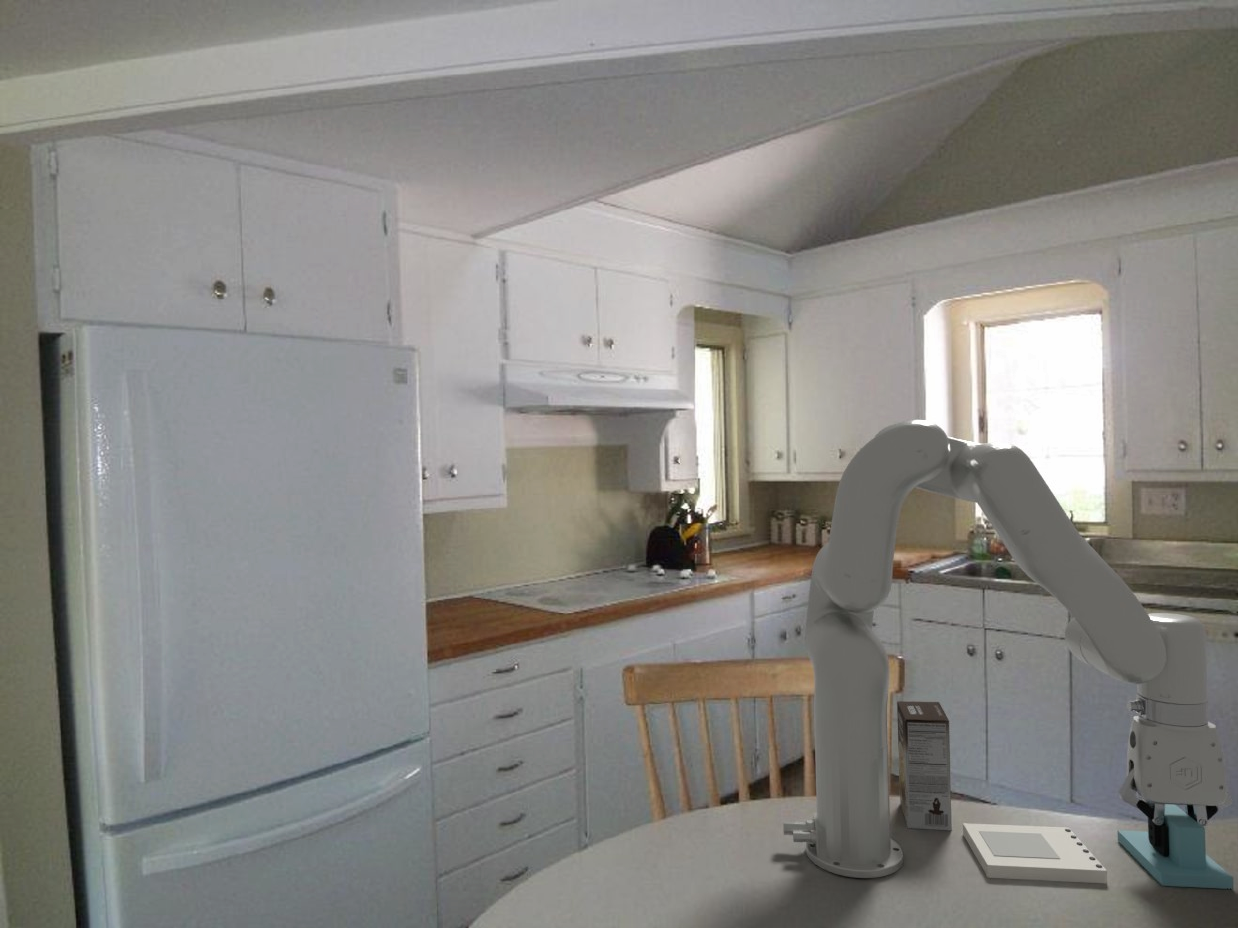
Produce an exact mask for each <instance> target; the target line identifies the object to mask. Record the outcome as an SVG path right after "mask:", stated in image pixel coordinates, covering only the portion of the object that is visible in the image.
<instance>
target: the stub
mask: <svg viewBox="0 0 1238 928" xmlns="http://www.w3.org/2000/svg"><path fill="white" fill-rule="evenodd" d="M1164 824H1165V825H1167V826H1168V830H1169V855H1168V857H1166V856H1162V855H1161V854H1160V853H1159V852H1158V851H1157V850H1156V849H1155V848H1154V847H1153V846H1152V845H1151V844H1150V842H1149V830H1148V829H1147V831H1146V830H1145V831H1143V830H1122V829H1121V830H1119V829H1118V830H1117V841H1118V842H1119V843H1120V844H1121V845H1122V846H1123V848H1124V849H1125V850H1127V852H1128V853H1129V854H1130V855H1131V856H1132V857H1133V858H1134V859H1135V860H1136V861H1137V862H1138V863H1139V864H1140V865H1141V866H1142V867H1144V869H1145V870H1146V871H1147V872H1148V873H1149V874H1150V875H1151V876H1152V877H1153V878H1154V879H1155V880H1156V881H1157V882H1158V883H1159V884H1160V885H1161V886H1163V887H1165V886H1166V887H1167V886H1168V887H1184V888H1186V887H1187V888H1205V889H1223V890H1224V889H1225V890H1234V888H1235V886H1234V877H1233V876H1232V875H1231V874H1230V873H1229V872H1228V871H1226V870H1225V869H1224V868H1223V867H1222V866H1220V864H1218V863H1217V862H1216V860H1215V861H1214V859H1212V858H1211V857H1210V856H1209V855H1208V854H1206V853H1207V852H1206V851H1207V850H1206V827H1203V826H1201V825H1200V824H1199V823H1198V822H1196V821H1195V820H1194V819H1193V818H1191V817H1190V816H1189V815H1188V814H1186V811H1184V810H1183V809H1182V808H1180V807H1179V806H1177V805H1172V804H1165V814H1164ZM1227 888H1228V889H1227ZM1230 888H1231V889H1230ZM1232 888H1233V889H1232Z"/></svg>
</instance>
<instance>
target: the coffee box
mask: <svg viewBox="0 0 1238 928" xmlns="http://www.w3.org/2000/svg"><path fill="white" fill-rule="evenodd" d="M896 705H897V706H896V707H897V708H896V709H897V714H896V715H897V743H898V746H897V747H898V777H899V780H898V781H899V802H900V806H901V810H902V812H903V816H904V820H905V823H906V826H907V829H917V830H933V831H934V830H935V831H952V830H953V829H952V828H953V827H952V795H951V794H952V790H951V788H952V787H951V748H950V747H951V745H950V744H951V743H950V739H951V738H950V736H951V735H950V720H949V718H948V716H947V715H946V712H945V710H944V708H943V707H942V705H941V703H940V702H939V701H907V700H905V701H902V700H901V701H897V702H896Z"/></svg>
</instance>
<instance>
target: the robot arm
mask: <svg viewBox="0 0 1238 928" xmlns="http://www.w3.org/2000/svg"><path fill="white" fill-rule="evenodd" d="M1037 468H1038V467H1036V465H1035V464H1034V462H1033V461H1032V460H1031V458H1030V457H1029V456H1028V455H1027V454H1026V452H1024V451H1023V450H1022V449H1021V448H1019V447H1018V446H1016V445H1013V444H1010V443H1005V442H1004V443H1003V442H988V443H986V442H985V443H979V442H973V441H967V440H963V439H959V438H954V437H951V436H947V434H946V432H945V430H943V429H942V427H940V425H938V424H936V423H933V422H932V421H929V420H925V419H924V420H923V419H910V420H909V419H908V420H904V421H901V422H897V423H893V424H890V425H888V426H886V427H884V428H882V429H881V430H879V431H878V432H877V434H876V435H875V436H874V437H873V438H871V440H869V441H868V442H867V443H865V444H864V445H863V446H862V448H860V449H859V451H858V452H857V453H856V454H855V455H854V456H853V458H852V459H851V460H850V461H849V463H848V464H847V466H846V468H845V469H844V472H843V473H842V475H841V477H840V479H839V480H840V481H839V483H838V487H837V489H836V490H837V491H836V494H835V500H834V506H833V512H832V518H831V523H830V524H831V525H830V533H829V539H828V542H827V543H825V544H824V545H823V546H822V547H821V548H820V549H819V550H818V552H817V554H816V556H815V558H814V561H813V566H812V571H811V574H810V575H811V576H810V583H809V591H808V592H809V594H808V601H807V602H808V603H807V609H806V610H807V611H806V621H805V629H804V631H805V633H804V645H805V650H806V654H807V657H808V658H809V660H810V663H811V665H812V667H813V674H814V697H813V698H814V699H813V724H814V725H813V731H814V732H813V733H814V748H815V749H814V754H815V756H814V757H815V758H814V759H815V789H816V791H815V793H816V811H814V812H812V818H805V821H797V820H793V819H791V820H789V819H783V820H782V826H783V828H782V831H783V836H792V841H793V842H794V843H805V851H806V852H805V853H806V855H807V858H809V860H810V861H811V862H812V863H814V864H815V865H816V866H817V867H820V869H823V870H824V871H827V872H829V873H833V874H835V875H839V876H843V877H848V878H855V879H875V878H880V877H881V878H883V877H885V876H889V875H892V874H894V873H896V872H897V871H898V870H900V869H901V868H902V866H903V864H904V851H903V848H902V847H901V845H899V843H897V842H896V841H895V840H893V839H892V838H891V816H890V815H891V813H890V812H891V811H890V805H891V804H890V777H889V776H890V775H889V774H890V773H889V769H890V768H889V743H888V738H889V737H888V702H889V688H890V677H891V676H890V675H891V674H890V670H891V669H890V661H889V657H888V653H887V650H886V647H885V646H884V644H883V642H882V641H881V639H880V637H879V636H878V635H877V634H876V633H875V631H874V630H873V621H874V614H875V613H874V612H875V611H876V610H877V609H879V608H880V607H881V606H882V605H883V604H884V603H885V602H886V600H887V599H888V598H889V597H888V596H889V595H890V593H891V592H890V591H891V589H892V582H893V571H894V570H893V569H894V559H895V558H894V557H895V549H896V548H895V547H896V538H897V532H898V531H897V530H898V526H899V519H900V514H901V510H902V507H903V505H904V502H905V500H906V498H907V497H908V495H909V494H910V493H911V492H912V491H913V490H914V488H915V489H918V490H922V491H925V492H929V493H933V494H937V495H941V496H945V497H948V498H949V497H950V498H952V499H957V500H962V501H966V502H971V503H977V504H978V505H977V506H979V508H980V509H981V511H982V513H983V515H984V516H985V517H986V519H987V520H988V522H989V524H990V525H991V526H992V528H993V530H994V531H995V532H996V534H997V535H998V537H999V539H1000V540H1001V542H1002V543H1003V545H1004V547H1005V548H1006V549H1007V551H1008V553H1009V554H1010V556H1011V557H1012V559H1013V561H1014V562H1015V564H1016V565H1017V566H1018V567H1019V568H1020V569H1021V570H1022V572H1024V573H1025V575H1026V576H1028V578H1030V579H1031V580H1032V581H1033V582H1035V583H1036V584H1037V585H1039V586H1040V587H1041V588H1043V589H1044V590H1045V591H1047V592H1048V593H1049V594H1051V595H1052V596H1053V597H1054V598H1055V599H1056V600H1057V601H1058V602H1059V603H1060V604H1061V605H1062V606H1063V607H1064V609H1066V610H1067V612H1069V613H1070V615H1071V616H1072V618H1071V620H1070V621H1069V622H1068V623H1067V625H1066V626H1065V630H1064V640H1065V644H1066V646H1067V649H1068V650H1069V651H1070V653H1072V655H1073V656H1074V657H1076V658H1077V659H1078V660H1079V661H1081V662H1082V663H1084V664H1086V665H1088V666H1089V667H1091V668H1094V669H1095V670H1097V671H1100V672H1102V673H1104V674H1106V675H1107V676H1110V677H1111V678H1113V679H1115V680H1117V681H1119V682H1122V683H1125V684H1131V685H1137V687H1136V688H1137V690H1136V691H1137V693H1135V699H1133V700H1127V701H1126V708H1127V711H1128V712H1134V713H1136V715H1134V716H1133V718H1132V721H1131V724H1130V725H1131V726H1130V730H1129V736H1128V741H1127V742H1128V743H1127V752H1126V753H1127V754H1126V778H1125V780H1124V782H1123V783H1122V785H1121V787H1120V789H1119V790H1118V792H1117V796H1118V797H1119V799H1121V800H1122V801H1123V802H1125V803H1127V804H1128V805H1130V806H1131V807H1134V808H1137V809H1138V810H1139V811H1141V813H1143V814H1144V815H1145V817H1147V831H1148V830H1149V842H1150V844H1151V845H1152V846H1153V847H1154V848H1155V849H1156V850H1157V851H1158V852H1159V853H1160V854H1161V855H1162V856H1166V857H1168V855H1169V830H1168V826H1167V825H1165V824H1164V814H1165V804H1172V805H1176V806H1177V805H1179V806H1184V807H1185V813H1186V814H1188V815H1189V816H1190V817H1191V818H1193V819H1194V820H1195V821H1196V822H1198V823H1199V824H1200V825H1201V826H1203V827H1204V828H1206V827H1207V826H1208V823H1209V820H1210V819H1211V818H1213V817H1214V816H1215V815H1216V814H1217V813H1218V811H1221V810H1224V809H1227V808H1228V807H1231V806H1232V805H1233V803H1234V800H1233V798H1232V796H1231V795H1230V793H1229V791H1228V787H1227V785H1228V784H1227V774H1226V765H1225V760H1224V754H1223V747H1222V745H1221V740H1220V735H1219V732H1218V728H1217V726H1216V724H1214V723H1212V722H1210V721H1209V708H1208V706H1209V705H1208V704H1209V703H1208V672H1207V669H1208V666H1207V664H1208V663H1207V661H1208V660H1207V636H1206V635H1207V634H1206V628H1205V626H1204V623H1203V622H1202V621H1201V620H1200V619H1198V618H1196V617H1193V616H1191V615H1185V614H1180V613H1171V612H1170V613H1169V612H1168V613H1167V612H1152V613H1148V612H1147V610H1146V609H1145V607H1144V606H1143V605H1142V603H1141V602H1140V600H1139V599H1138V598H1137V596H1136V595H1135V594H1134V592H1133V591H1132V589H1131V588H1130V586H1128V585H1127V583H1126V582H1125V581H1124V580H1123V579H1122V577H1120V575H1118V574H1117V572H1115V571H1114V569H1113V568H1112V567H1111V566H1110V565H1109V564H1108V563H1107V562H1106V561H1105V560H1104V558H1102V557H1101V555H1100V554H1099V553H1098V552H1097V551H1096V550H1095V549H1094V548H1093V546H1091V544H1089V543H1088V542H1087V541H1086V539H1084V537H1083V536H1082V535H1081V533H1080V532H1079V530H1078V529H1077V528H1076V527H1075V525H1074V523H1073V522H1072V520H1071V519H1070V517H1069V516H1068V515H1067V512H1065V510H1064V508H1063V507H1062V505H1061V504H1060V502H1059V501H1058V499H1057V498H1056V496H1055V493H1053V492H1052V490H1051V488H1050V487H1049V485H1048V484H1047V483H1046V480H1045V479H1044V478H1043V476H1042V475H1041V473H1040V472H1039V470H1038V469H1037ZM1137 793H1138V796H1137V795H1136V794H1137ZM1139 796H1140V797H1139Z"/></svg>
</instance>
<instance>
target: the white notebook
mask: <svg viewBox="0 0 1238 928" xmlns="http://www.w3.org/2000/svg"><path fill="white" fill-rule="evenodd" d="M962 835H963V836H964V839H965V840H966V842H967V844H968V846H969V847H970V849H971V851H972V852H973V855H974V856H975V858H976V859H977V861H978V862H979V864H980V866H981V867H982V868H981V869H982V870H983V871H984V873H985V875H986V877H987V878H991V879H1007V880H1008V879H1010V880H1029V881H1030V880H1031V881H1048V882H1051V881H1052V882H1069V883H1070V882H1071V883H1072V882H1073V883H1088V884H1089V883H1090V884H1092V883H1093V884H1108V870H1107V869H1106V868H1105V867H1104V866H1103V865H1102V863H1101V862H1100V861H1099V860H1098V858H1096V856H1094V854H1093V853H1092V852H1091V851H1090V849H1088V847H1087V846H1086V845H1085V844H1084V843H1083V841H1081V840H1080V838H1079V837H1078V836H1077V835H1076V834H1075V832H1073V831H1072V830H1071V828H1070V827H1064V826H1063V827H1062V826H1039V825H1035V826H1034V825H1016V824H1015V825H1012V824H1011V825H1010V824H990V823H989V824H988V823H987V824H986V823H967V822H966V823H965V822H963V823H962Z"/></svg>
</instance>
